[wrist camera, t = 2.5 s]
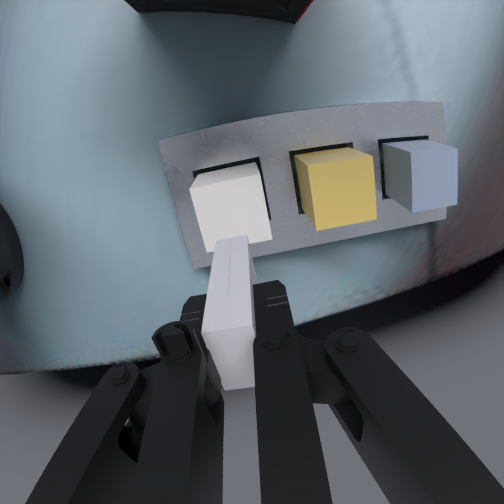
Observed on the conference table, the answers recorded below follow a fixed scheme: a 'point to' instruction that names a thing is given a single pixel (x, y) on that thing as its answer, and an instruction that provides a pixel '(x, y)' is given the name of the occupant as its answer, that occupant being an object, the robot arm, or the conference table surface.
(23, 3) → the conference table surface
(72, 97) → the conference table surface
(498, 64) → the conference table surface
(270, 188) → the key panel
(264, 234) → the ivory key
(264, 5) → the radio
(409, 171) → the slate key
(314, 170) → the mustard key
